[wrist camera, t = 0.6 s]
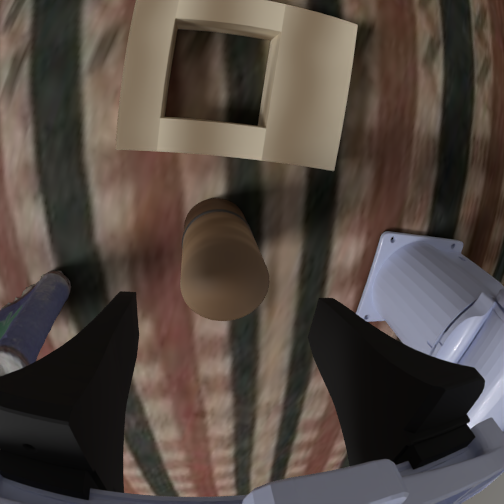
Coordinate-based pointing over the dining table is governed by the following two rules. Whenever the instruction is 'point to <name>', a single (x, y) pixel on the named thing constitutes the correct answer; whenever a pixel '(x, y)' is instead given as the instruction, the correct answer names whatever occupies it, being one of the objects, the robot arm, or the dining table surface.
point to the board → (274, 92)
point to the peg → (221, 262)
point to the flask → (30, 321)
